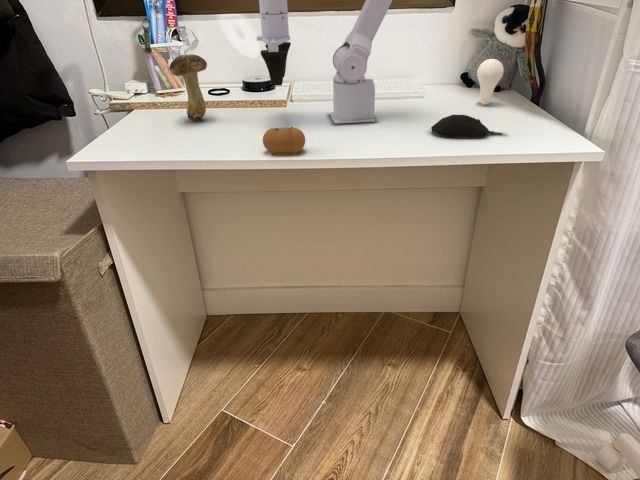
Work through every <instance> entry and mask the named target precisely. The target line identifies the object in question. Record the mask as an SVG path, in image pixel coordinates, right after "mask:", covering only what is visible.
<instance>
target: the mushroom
mask: <svg viewBox="0 0 640 480" xmlns="http://www.w3.org/2000/svg"><path fill="white" fill-rule="evenodd" d="M207 68H208V63H207V61H206V59H204V58H203V57H201V56H200V55H197V54H193V53H192V54H187V53H185V54H180V55H178V56H175V58H174V59H172V61H171V63H170V64H169V68H168V69H169V71H170V73H171V74H172V75H173V76H175V77H182V79H183V81H184V85H185V89H186V93H187V107H186V114H187V116H186V117H187V118H188V121H191V122H199V121H201V119H202V118H203V117H204V115H205V114H206V112H207V105H206V101H205V99H204V95H203V93H202V91H201V87H200V84H199V83H200V82H199V77H198V73H200V72H203V71H205V70H206V69H207Z"/></svg>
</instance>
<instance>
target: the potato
mask: <svg viewBox="0 0 640 480" xmlns="http://www.w3.org/2000/svg"><path fill="white" fill-rule="evenodd" d="M262 144H263V146H264V148H265V150H267V151H268V152H270V153H271V155H297V154H298V152H300V151H301V150H302V149H303V148H304V147H305V144H306V136H305V133H304V132H303V131H302V130H301V129H299V128H298V127H293V126H290V127H272V128H269V129H267V130H266V131H264V134H263V136H262Z"/></svg>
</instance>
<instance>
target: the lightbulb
mask: <svg viewBox="0 0 640 480" xmlns="http://www.w3.org/2000/svg"><path fill="white" fill-rule="evenodd" d="M504 70H505V69H504V65H503V63H502V62H501V61H500V60H498V59H496V58H488V59H485V60H484V61H482V62H481V63H480V65H479V66H478V67H477V71H476V72H477V73H476V77H477V80H478V83H479V103H481V105H483V106H486V105H488V104H490V103H491V100H492V96H493V95H494V91H495V88H496V87H497V85H498V83H499V82H500V81H501V79H502V78H503V76H504V72H505V71H504Z"/></svg>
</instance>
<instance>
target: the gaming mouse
mask: <svg viewBox="0 0 640 480" xmlns="http://www.w3.org/2000/svg"><path fill="white" fill-rule="evenodd" d="M430 128H431V132H432V133H434V134H436V135H438V136H440V137H443V138H450V139H451V138H452V139H454V138H455V139H462V138H463V139H479V138H484V137H486V136H487V135H488V134H490V135H500V136H502V135H503V132H497V131H494V130H489V128H488V127H487V126H486V125H484V124H483V122H481V120H480V118H475V117H473V116H470V115H467V114H451V115H447V116H444V117H442V118H441V119H439V120H438V121H437V122H436V123H434V124H433V125H432V126H431V127H430Z"/></svg>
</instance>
